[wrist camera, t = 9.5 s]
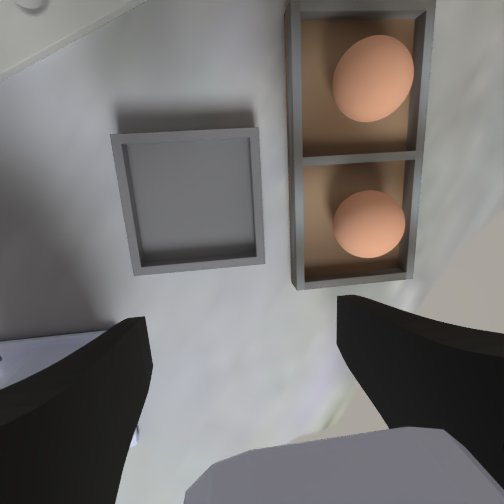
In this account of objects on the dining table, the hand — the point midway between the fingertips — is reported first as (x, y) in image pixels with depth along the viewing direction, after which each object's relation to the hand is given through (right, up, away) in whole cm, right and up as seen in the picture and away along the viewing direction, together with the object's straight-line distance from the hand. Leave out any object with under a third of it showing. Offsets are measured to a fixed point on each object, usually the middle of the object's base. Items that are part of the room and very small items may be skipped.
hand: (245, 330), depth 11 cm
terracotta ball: (+7, +5, +9) cm, 12 cm away
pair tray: (+6, +9, +8) cm, 14 cm away
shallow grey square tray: (-3, +6, +8) cm, 10 cm away
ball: (+6, +12, +7) cm, 16 cm away
